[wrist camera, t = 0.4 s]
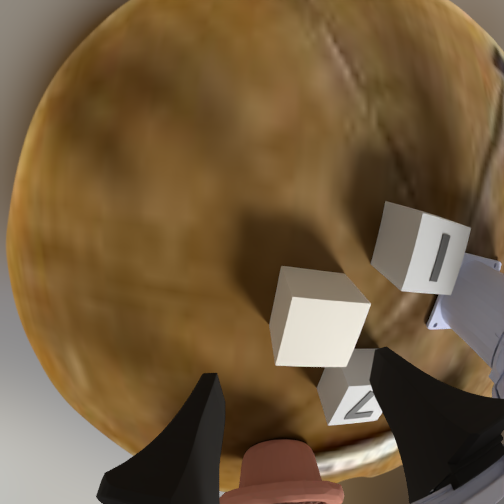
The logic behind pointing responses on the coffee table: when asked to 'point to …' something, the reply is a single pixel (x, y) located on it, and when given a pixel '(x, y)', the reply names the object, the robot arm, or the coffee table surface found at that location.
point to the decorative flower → (282, 477)
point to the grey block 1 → (419, 250)
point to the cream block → (316, 318)
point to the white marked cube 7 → (349, 391)
